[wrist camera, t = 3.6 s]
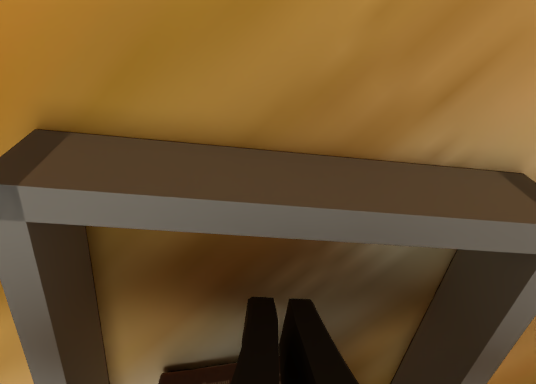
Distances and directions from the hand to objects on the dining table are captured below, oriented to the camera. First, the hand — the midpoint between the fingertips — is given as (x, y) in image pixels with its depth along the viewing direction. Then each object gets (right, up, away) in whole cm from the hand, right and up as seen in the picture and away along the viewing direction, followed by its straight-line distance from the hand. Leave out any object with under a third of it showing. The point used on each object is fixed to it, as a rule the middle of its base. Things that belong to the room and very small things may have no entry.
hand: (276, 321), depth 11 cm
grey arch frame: (0, -2, +2) cm, 3 cm away
